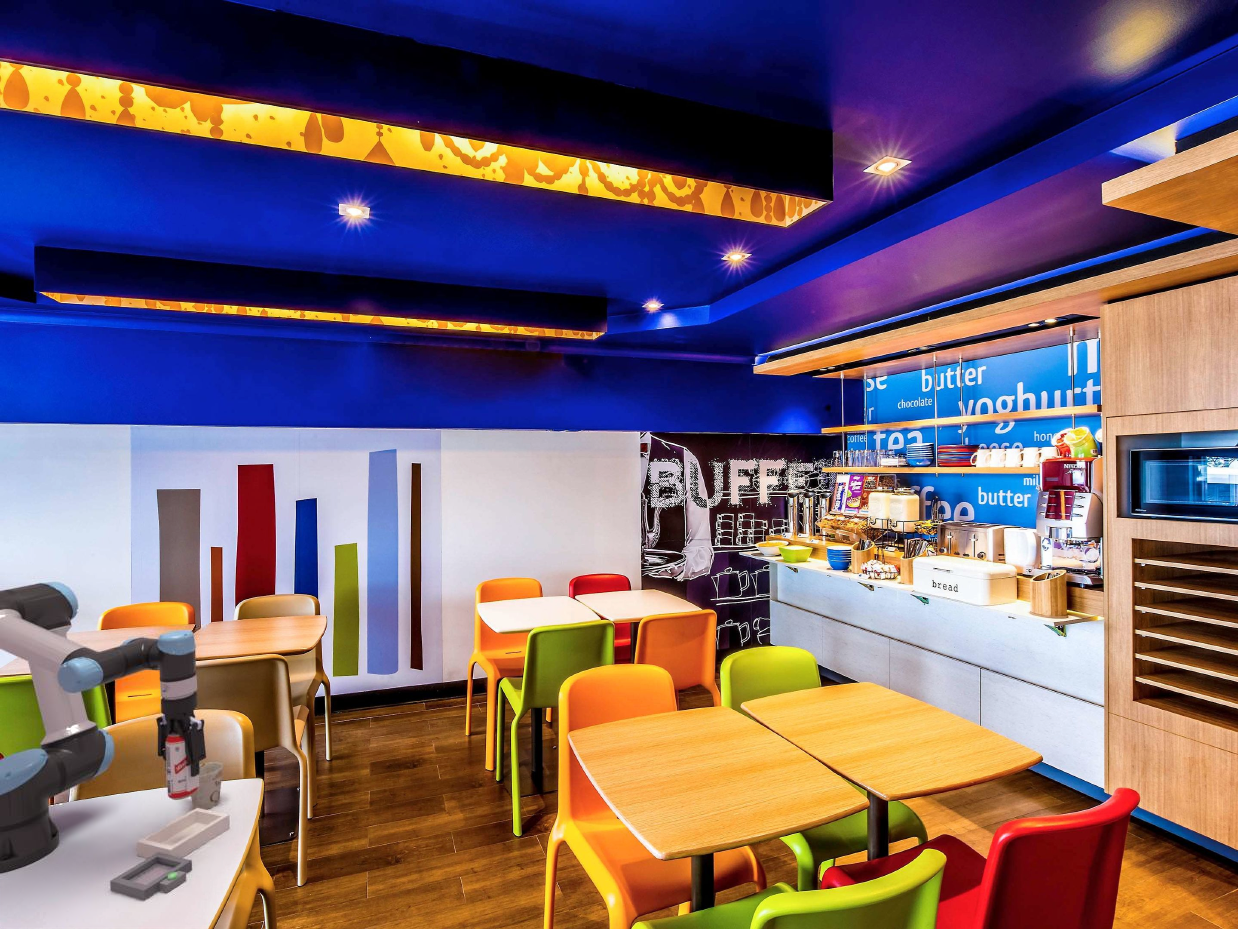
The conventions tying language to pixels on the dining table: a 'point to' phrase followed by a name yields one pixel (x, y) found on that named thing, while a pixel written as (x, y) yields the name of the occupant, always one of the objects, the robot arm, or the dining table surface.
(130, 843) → the dining table surface
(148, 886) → the frame
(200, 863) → the dining table surface
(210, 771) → the mug
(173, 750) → the beer can
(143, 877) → the plate
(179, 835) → the cream rectangular tray
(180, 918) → the dining table surface
